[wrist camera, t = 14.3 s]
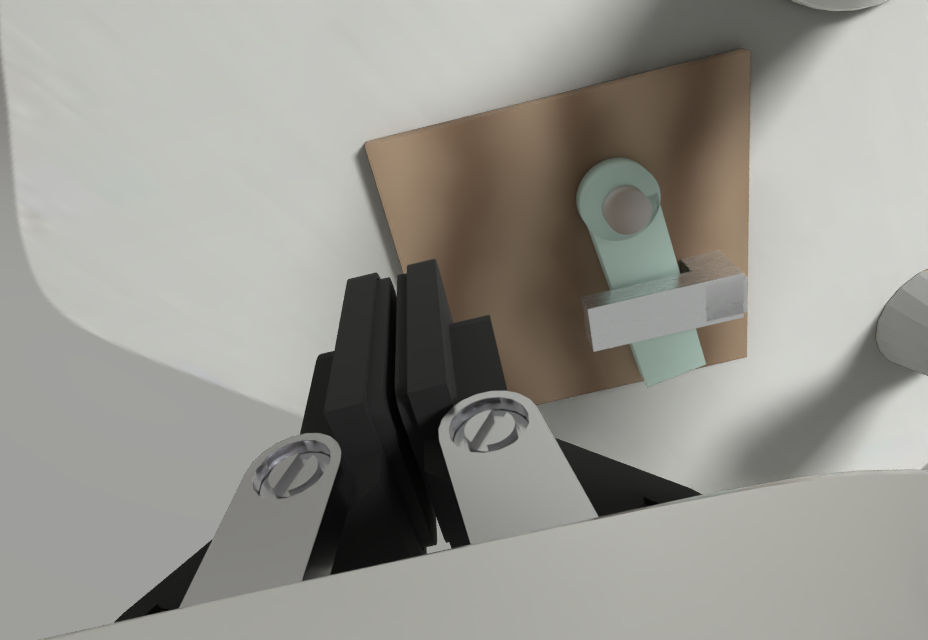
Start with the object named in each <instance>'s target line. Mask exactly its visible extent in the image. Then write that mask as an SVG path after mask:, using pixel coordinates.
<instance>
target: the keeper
mask: <svg viewBox="0 0 928 640" xmlns="http://www.w3.org/2000/svg"><path fill="white" fill-rule="evenodd" d="M681 271H682V274H677V275H673V276H669V277H665V278H660V279H656V280H652V281H648V282H643V283H639V284H635V285H630V286H626V287H622V288H618V289H613V290H609V291H605V292H601V293H596V294H592V295H588V296H583V297H581V298H582V305H583V312H584V319H585V326H586V333H587V339H588V341H589V343H590V345H591V347H592V349H593V352H595V351H600V350H604V349H608V348H613V347H617V346H621V345H626V344H630V343H634V342H639V341H643V340H647V339H652V338H656V337H660V336H665V335H669V334H673V333H678V332H682V331H686V330H691V329H695V328H699V327H704V326H708V325H712V324H717V323H721V322H726V321H730V320H734V319H739V318H743V317H744V313H746V312H747V276H746V275H745V274H744V272H743V271H741V270H740V269H739V268H738V267H737V266H736V265H735V264H734V263H733V262H731V261H730V260H729V259H728V258H727V257H726V256H725V255H724V254H723V253H722V252H721V251H719V250H718V251H714V252H710V253H706V254H701V255H697V256H693V257H689V258H684V259H681Z"/></svg>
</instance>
